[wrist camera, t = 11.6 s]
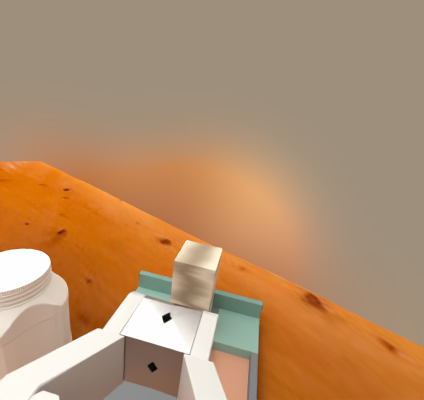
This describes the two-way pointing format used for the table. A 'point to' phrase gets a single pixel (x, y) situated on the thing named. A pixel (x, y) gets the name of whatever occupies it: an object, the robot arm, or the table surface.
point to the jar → (30, 309)
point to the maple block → (195, 275)
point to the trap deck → (222, 346)
